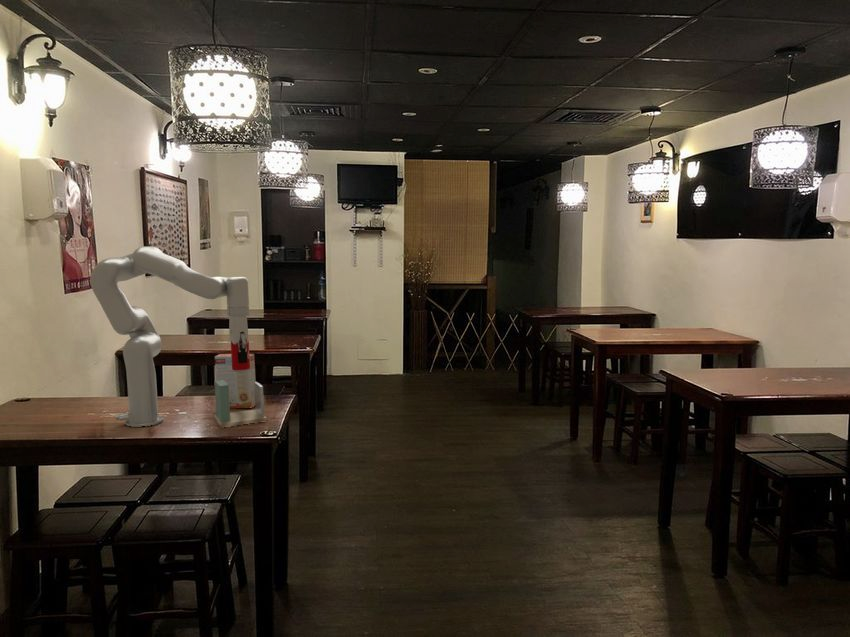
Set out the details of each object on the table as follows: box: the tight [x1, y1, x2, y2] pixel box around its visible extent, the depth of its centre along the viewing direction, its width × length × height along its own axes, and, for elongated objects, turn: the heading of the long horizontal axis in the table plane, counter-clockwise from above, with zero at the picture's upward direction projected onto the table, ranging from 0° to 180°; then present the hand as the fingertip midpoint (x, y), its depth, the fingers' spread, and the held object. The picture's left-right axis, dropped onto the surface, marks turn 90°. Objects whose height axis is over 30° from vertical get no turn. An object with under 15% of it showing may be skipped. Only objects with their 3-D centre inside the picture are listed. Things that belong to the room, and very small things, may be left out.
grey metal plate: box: [254, 381, 265, 417], centre depth 239 cm, size 1×9×11 cm, turn 28°
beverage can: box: [230, 339, 250, 372], centre depth 234 cm, size 6×6×12 cm
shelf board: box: [213, 409, 268, 429], centre depth 236 cm, size 16×14×2 cm
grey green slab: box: [214, 380, 231, 422], centre depth 233 cm, size 3×10×13 cm, turn 28°
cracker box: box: [214, 353, 256, 409], centre depth 254 cm, size 14×6×21 cm, turn 84°
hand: (240, 360), depth 234 cm, fingers closed on beverage can, 6 cm apart
